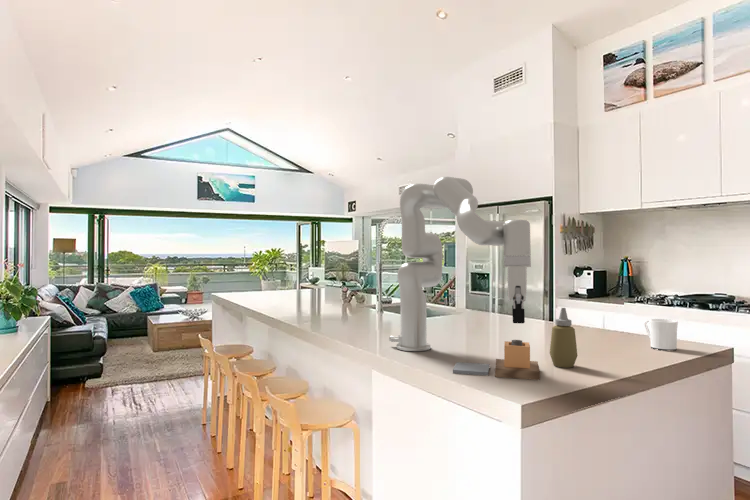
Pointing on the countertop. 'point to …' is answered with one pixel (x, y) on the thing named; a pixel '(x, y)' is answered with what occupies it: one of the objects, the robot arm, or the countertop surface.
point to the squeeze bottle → (563, 342)
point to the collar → (517, 355)
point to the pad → (471, 368)
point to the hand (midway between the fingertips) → (518, 320)
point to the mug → (662, 333)
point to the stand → (516, 372)
